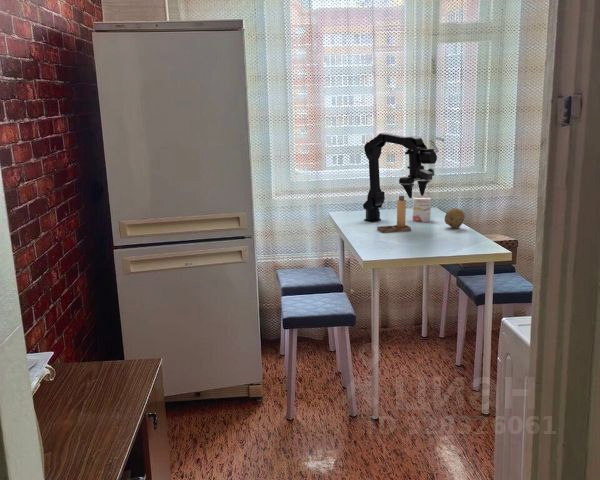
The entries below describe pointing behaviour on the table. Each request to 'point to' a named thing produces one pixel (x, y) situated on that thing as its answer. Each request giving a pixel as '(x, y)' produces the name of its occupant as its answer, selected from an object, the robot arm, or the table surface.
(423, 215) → the ink cartridge box
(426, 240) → the table surface
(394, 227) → the brown divided tray
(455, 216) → the natural sponge
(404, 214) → the tan rounded column
